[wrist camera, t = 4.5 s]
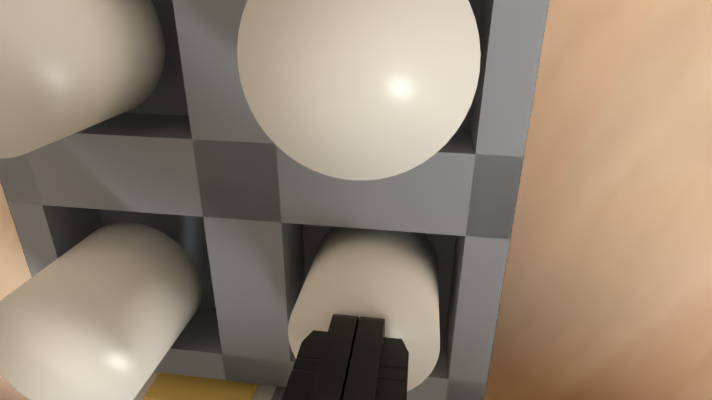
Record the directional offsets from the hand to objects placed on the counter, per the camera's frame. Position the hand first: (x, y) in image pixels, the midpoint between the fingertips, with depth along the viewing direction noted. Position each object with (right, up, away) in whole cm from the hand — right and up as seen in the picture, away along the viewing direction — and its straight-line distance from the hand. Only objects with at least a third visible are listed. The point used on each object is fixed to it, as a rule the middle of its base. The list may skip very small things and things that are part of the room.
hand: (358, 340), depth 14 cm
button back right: (+1, +2, +4) cm, 4 cm away
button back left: (-8, +1, +3) cm, 8 cm away
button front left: (-7, +9, 0) cm, 11 cm away
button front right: (0, +8, -1) cm, 8 cm away
